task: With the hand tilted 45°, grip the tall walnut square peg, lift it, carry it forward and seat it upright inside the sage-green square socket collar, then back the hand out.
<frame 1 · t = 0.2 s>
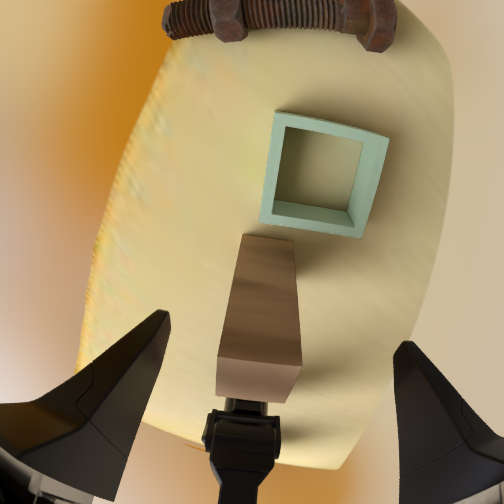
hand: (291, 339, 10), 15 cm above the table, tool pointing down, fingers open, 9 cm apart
bolt: (275, 16, 15), on the table
collar: (317, 168, 21), on the table
peg: (264, 258, 26), on the table
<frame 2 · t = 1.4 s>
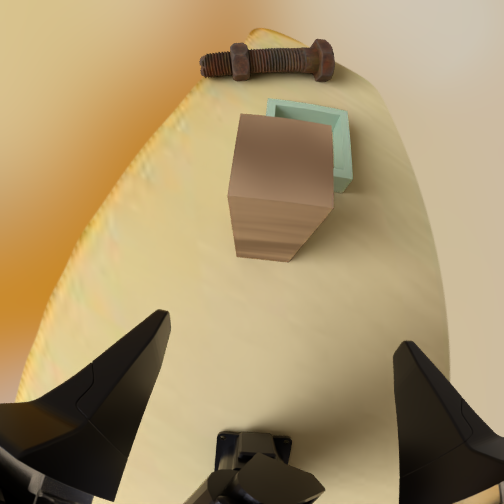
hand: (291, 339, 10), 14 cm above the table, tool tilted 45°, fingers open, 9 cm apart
bolt: (264, 74, 29), on the table
collar: (302, 151, 26), on the table
peg: (264, 234, 24), on the table
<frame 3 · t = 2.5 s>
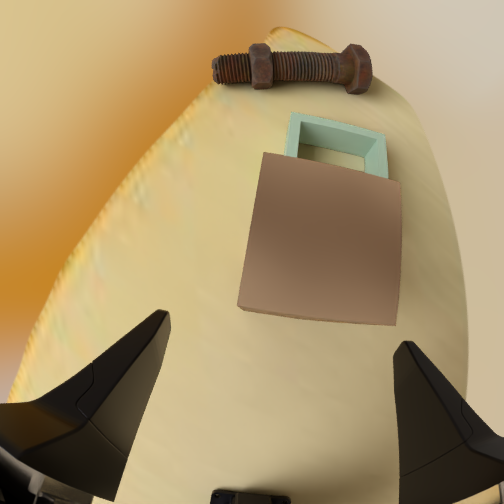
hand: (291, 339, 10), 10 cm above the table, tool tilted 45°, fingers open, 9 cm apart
bolt: (288, 82, 25), on the table
collar: (329, 180, 22), on the table
peg: (278, 284, 20), on the table
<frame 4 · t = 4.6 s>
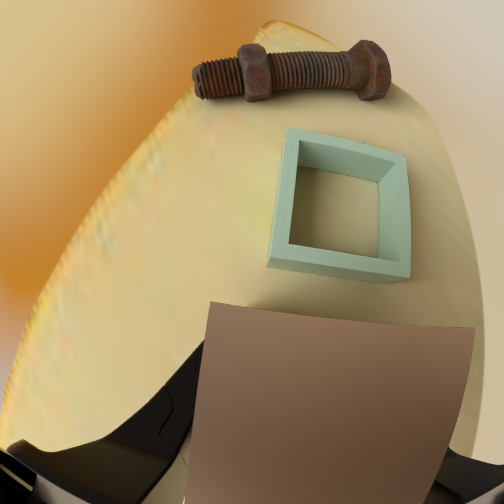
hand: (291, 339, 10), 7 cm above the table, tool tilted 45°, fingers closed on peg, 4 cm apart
bolt: (288, 90, 21), on the table
collar: (335, 215, 18), on the table
peg: (270, 351, 16), on the table, touching gripper
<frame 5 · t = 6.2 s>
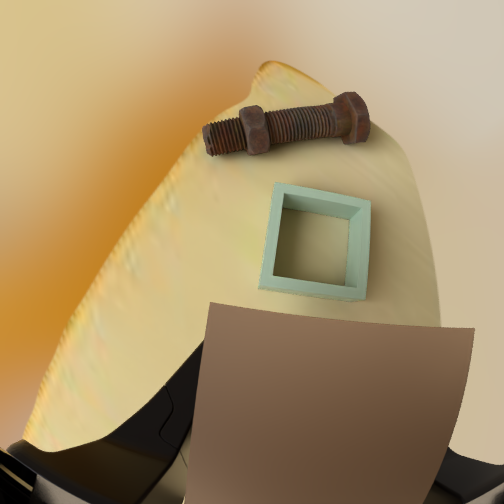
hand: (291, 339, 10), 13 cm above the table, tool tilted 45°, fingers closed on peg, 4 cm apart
bolt: (282, 139, 26), on the table
collar: (312, 248, 23), on the table
peg: (270, 351, 16), point 6 cm above the table, touching gripper
when the fingers open (7 cm above the table, at t = 8.9 s): peg stays where it is, resting in collar.
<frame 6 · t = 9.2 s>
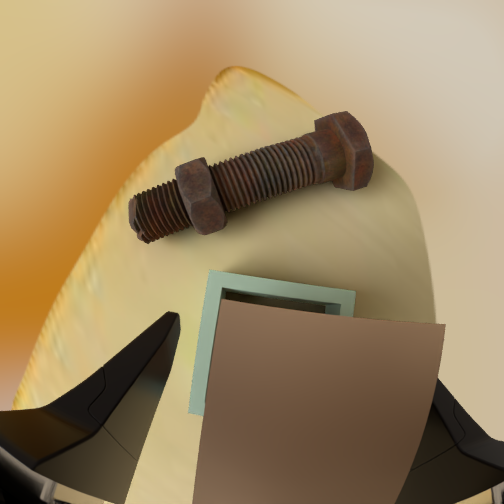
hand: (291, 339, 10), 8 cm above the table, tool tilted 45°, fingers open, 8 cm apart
bolt: (247, 193, 19), on the table
collar: (269, 349, 17), on the table
peg: (269, 348, 17), resting in collar
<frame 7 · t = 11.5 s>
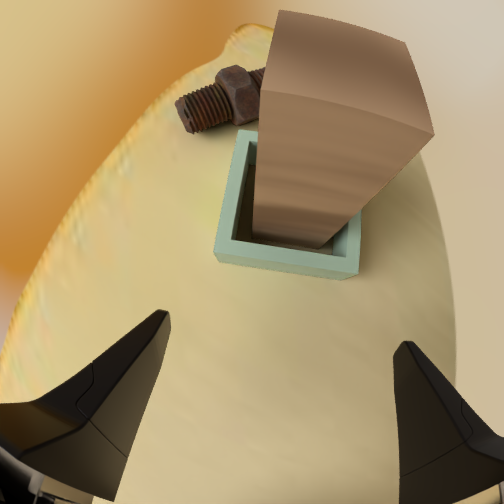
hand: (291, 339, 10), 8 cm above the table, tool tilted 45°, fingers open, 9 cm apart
bolt: (270, 103, 21), on the table
collar: (289, 212, 19), on the table
peg: (289, 212, 19), resting in collar
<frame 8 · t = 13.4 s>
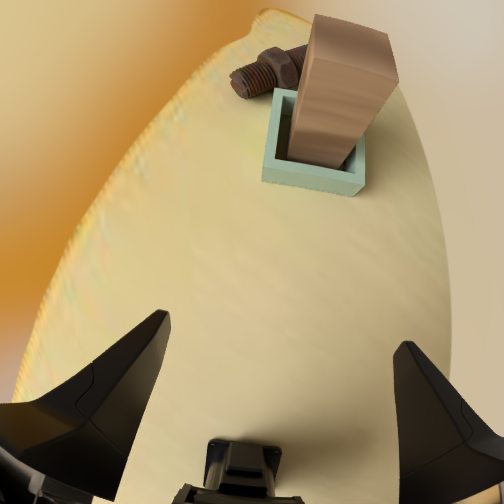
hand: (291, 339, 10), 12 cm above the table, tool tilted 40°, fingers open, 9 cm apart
bolt: (298, 75, 25), on the table
collar: (311, 148, 23), on the table
peg: (311, 148, 23), resting in collar
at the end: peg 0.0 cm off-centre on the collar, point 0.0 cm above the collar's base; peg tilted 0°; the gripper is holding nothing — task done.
